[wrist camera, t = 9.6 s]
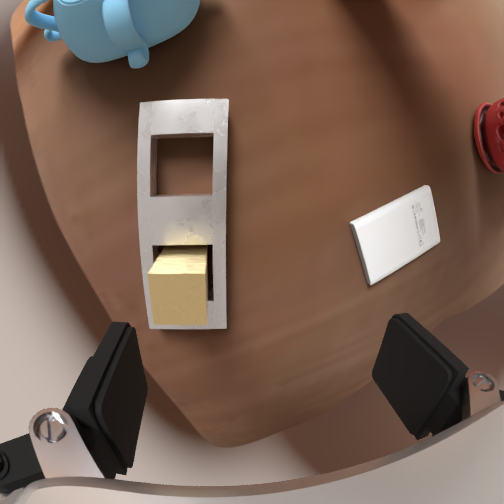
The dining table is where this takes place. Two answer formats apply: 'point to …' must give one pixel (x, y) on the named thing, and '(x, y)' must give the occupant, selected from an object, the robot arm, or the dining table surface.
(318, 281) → the dining table surface
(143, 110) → the grey slotted plate
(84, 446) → the robot arm
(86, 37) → the decorative pot
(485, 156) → the plant pot
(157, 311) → the gold rectangular block
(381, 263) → the external hard drive
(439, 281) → the dining table surface
